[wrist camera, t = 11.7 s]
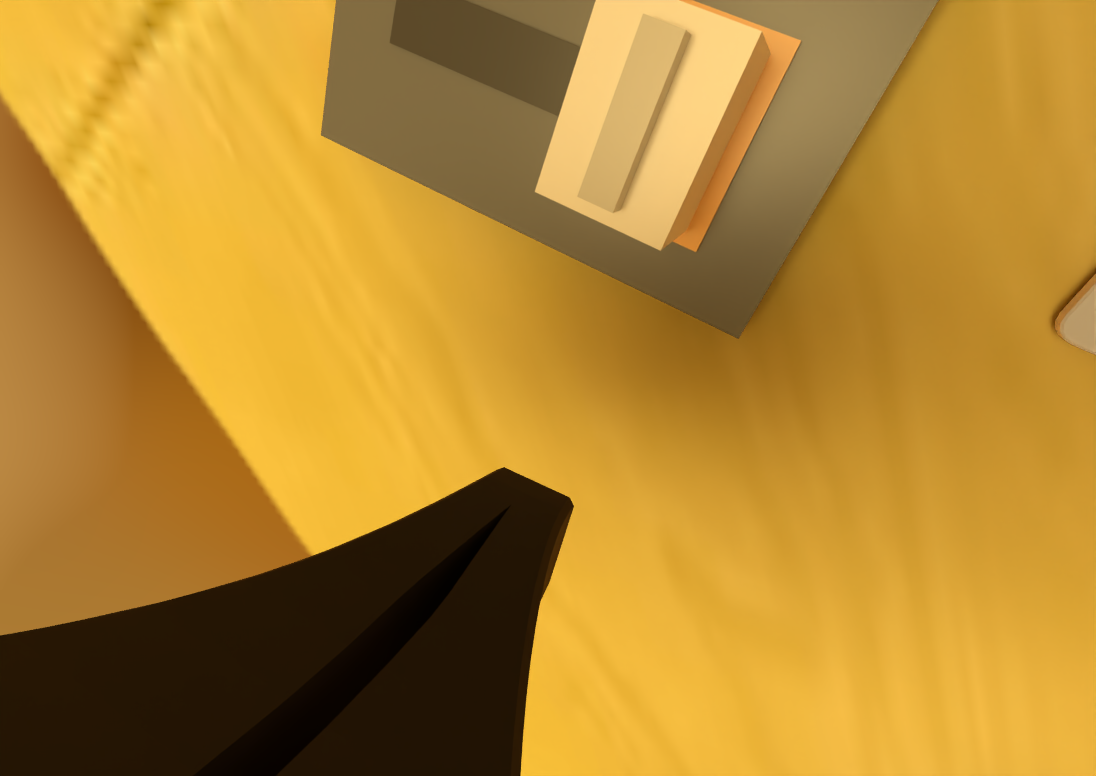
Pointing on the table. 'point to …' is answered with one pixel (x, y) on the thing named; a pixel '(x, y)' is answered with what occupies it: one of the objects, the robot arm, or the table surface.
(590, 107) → the switch
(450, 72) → the switch board
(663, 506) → the table surface
